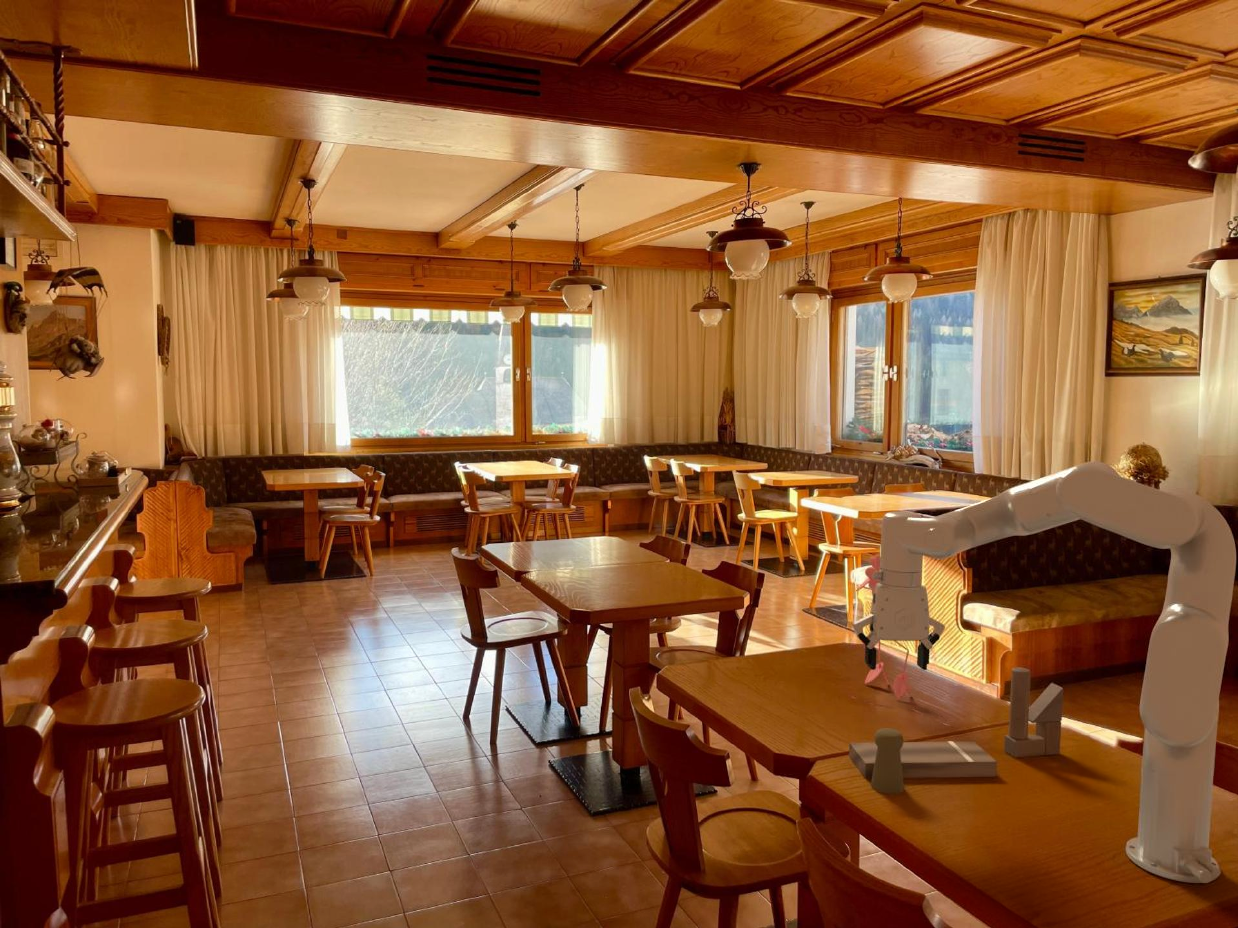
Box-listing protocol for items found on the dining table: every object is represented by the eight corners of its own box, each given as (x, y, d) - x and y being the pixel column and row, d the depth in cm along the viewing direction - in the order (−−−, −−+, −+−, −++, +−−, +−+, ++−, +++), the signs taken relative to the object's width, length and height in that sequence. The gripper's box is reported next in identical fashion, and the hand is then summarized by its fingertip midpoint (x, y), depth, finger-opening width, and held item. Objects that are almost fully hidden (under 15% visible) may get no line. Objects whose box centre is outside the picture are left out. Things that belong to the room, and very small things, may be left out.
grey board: (996, 776, 172) (996, 761, 172) (865, 778, 170) (865, 762, 170) (973, 755, 182) (973, 740, 182) (849, 756, 180) (849, 742, 180)
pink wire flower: (872, 674, 234) (874, 544, 231) (936, 707, 210) (939, 562, 206) (821, 680, 229) (823, 548, 226) (881, 715, 205) (883, 567, 202)
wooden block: (1060, 754, 183) (1064, 669, 181) (1014, 758, 181) (1018, 672, 179) (1048, 747, 186) (1052, 664, 185) (1003, 751, 184) (1007, 667, 183)
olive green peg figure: (867, 789, 166) (869, 732, 165) (874, 777, 171) (876, 722, 170) (900, 796, 163) (902, 739, 162) (906, 784, 168) (908, 728, 167)
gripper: (860, 582, 160) (857, 673, 162) (954, 583, 161) (949, 674, 162) (848, 573, 168) (845, 661, 169) (938, 574, 168) (933, 661, 170)
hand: (896, 667), depth 166 cm, fingers open, 9 cm apart
